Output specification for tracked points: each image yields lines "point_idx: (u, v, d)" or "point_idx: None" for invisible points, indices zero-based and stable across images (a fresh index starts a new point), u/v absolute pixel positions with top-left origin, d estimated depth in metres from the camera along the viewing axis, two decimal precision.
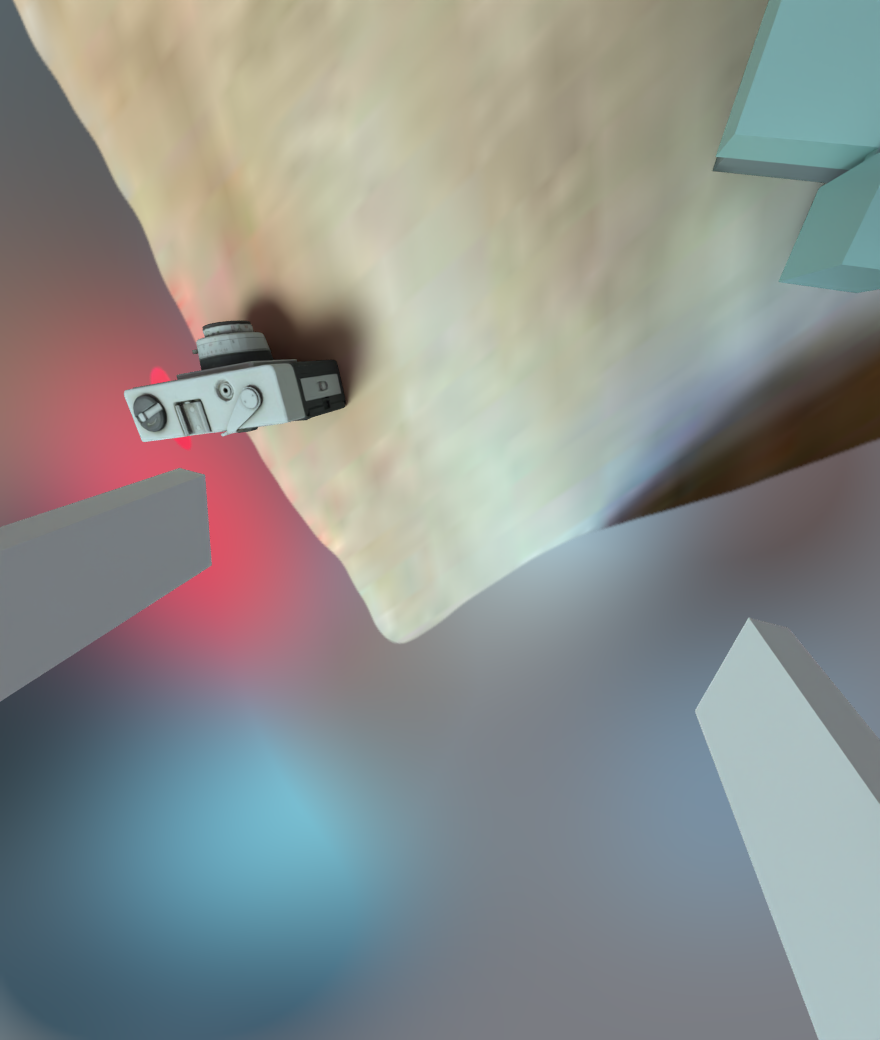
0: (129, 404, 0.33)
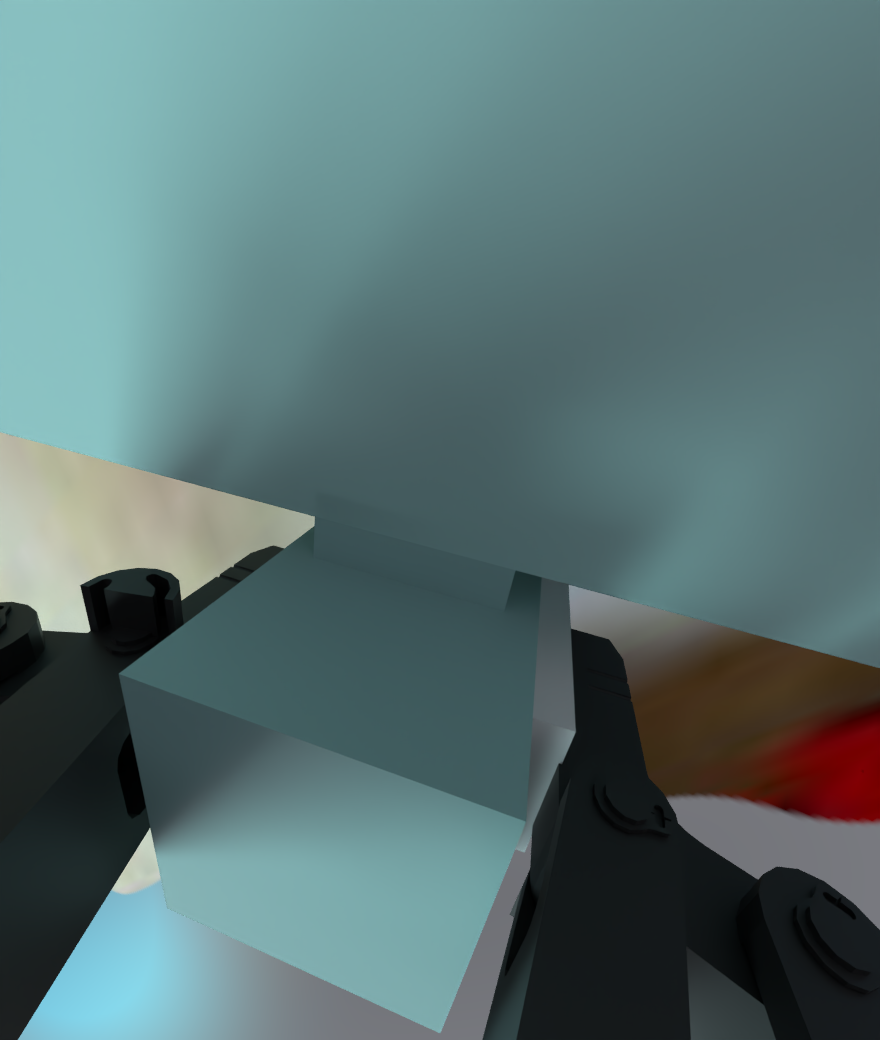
0: None
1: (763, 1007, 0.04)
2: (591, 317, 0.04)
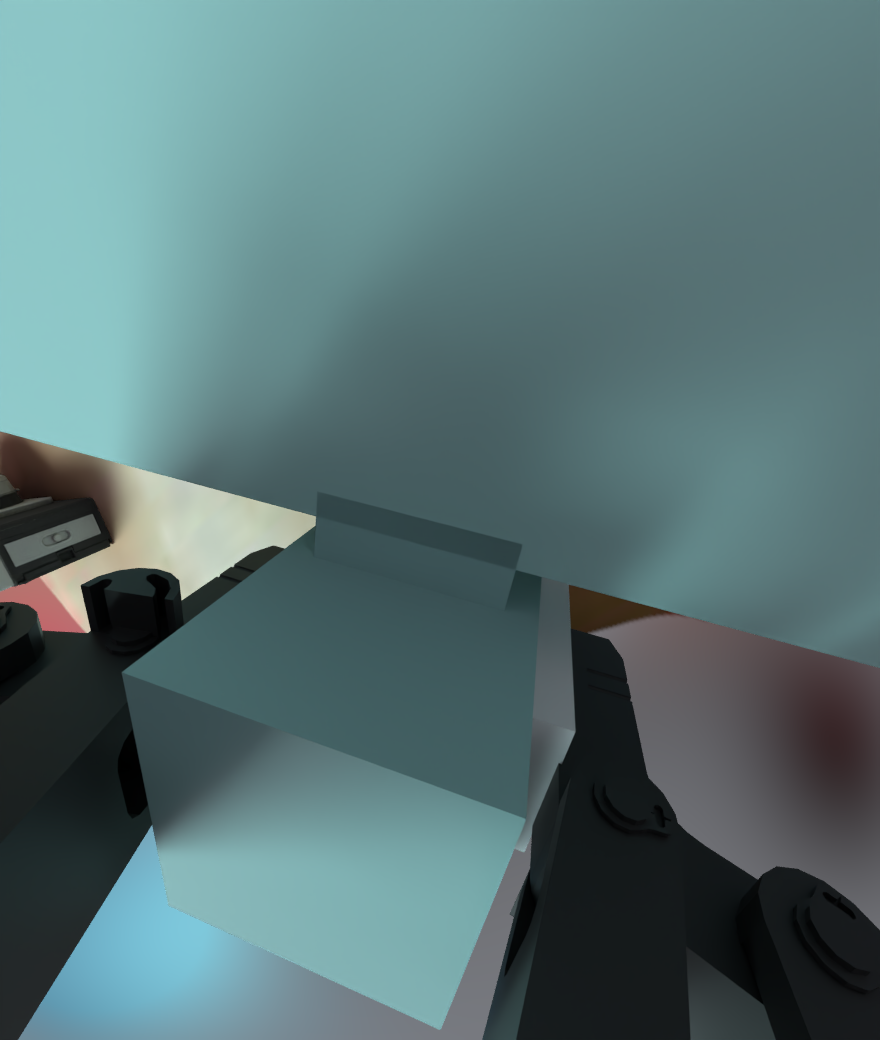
0: None
1: (762, 1007, 0.04)
2: (591, 318, 0.04)
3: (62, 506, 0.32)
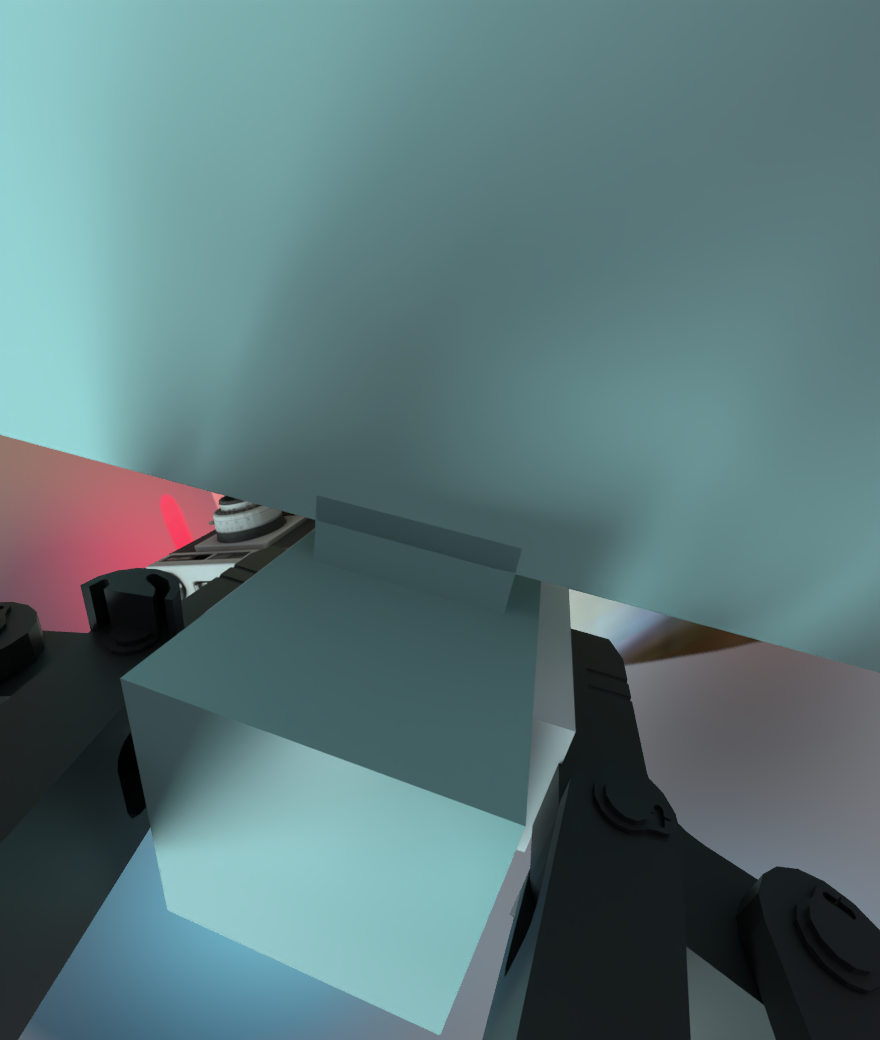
0: None
1: (762, 1007, 0.04)
2: (591, 323, 0.04)
3: None
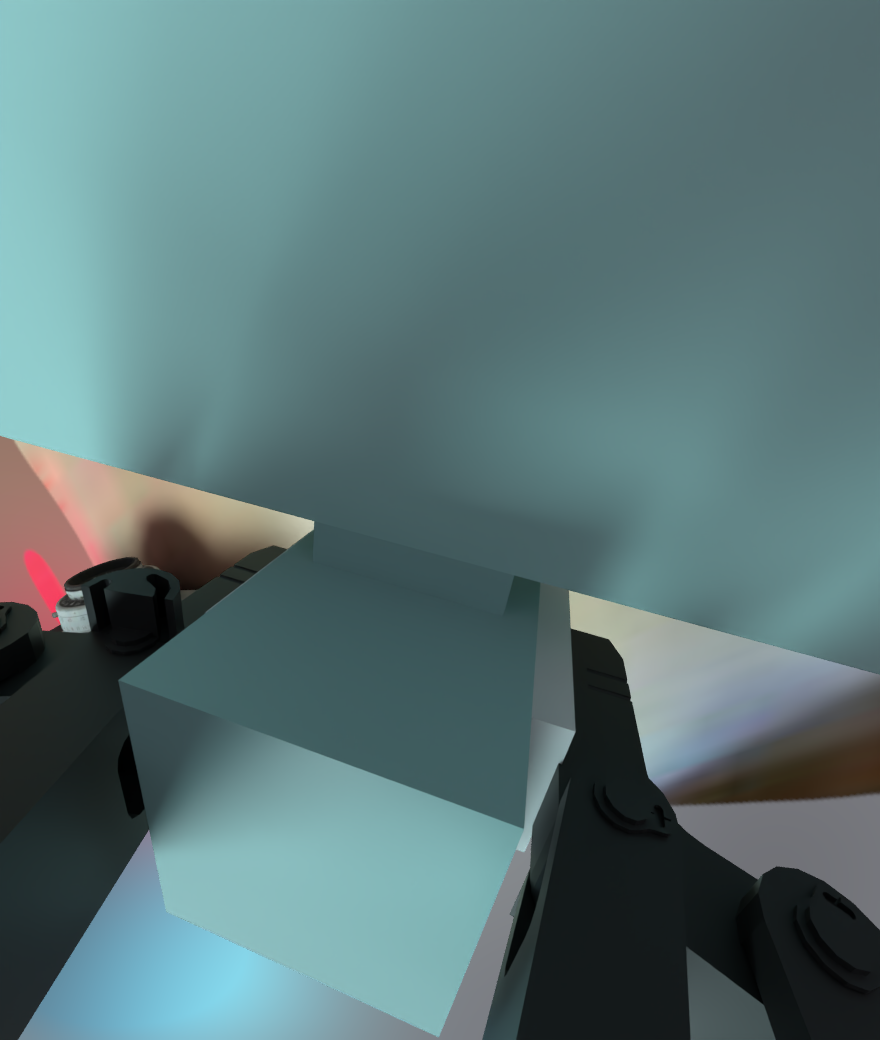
0: None
1: (762, 1008, 0.04)
2: (590, 325, 0.04)
3: None
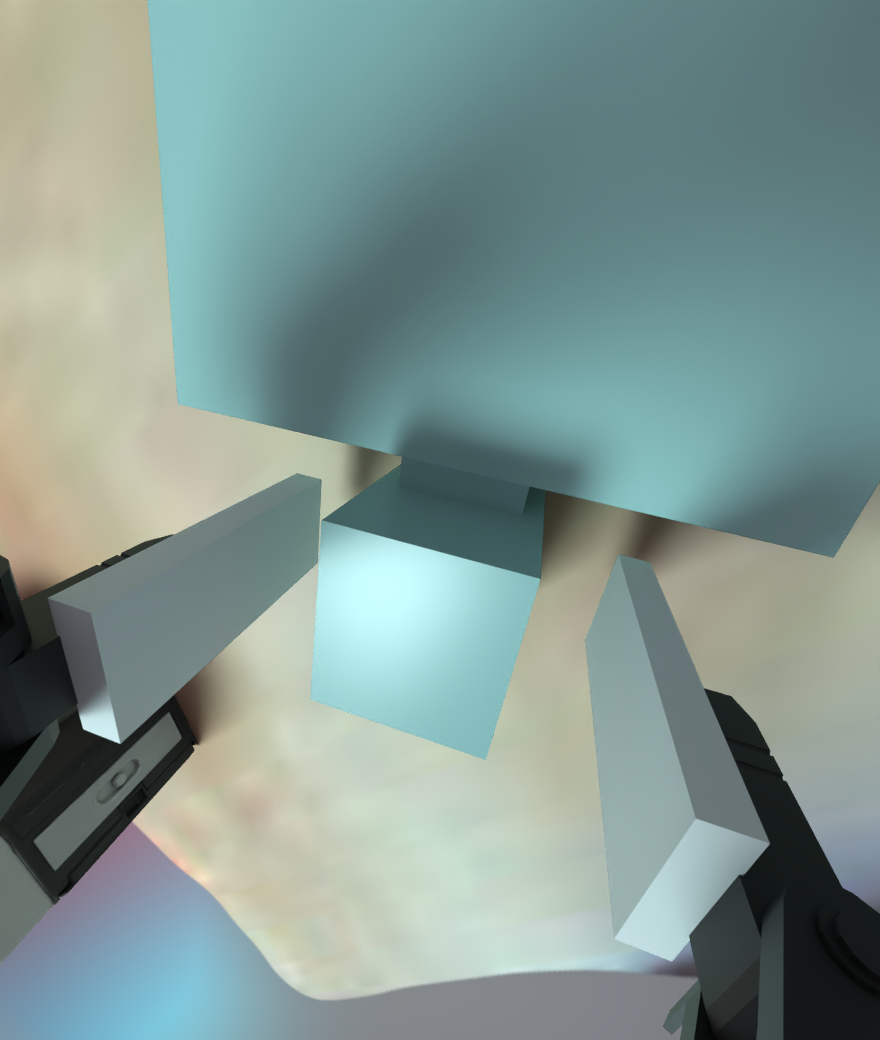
0: None
1: None
2: (573, 333, 0.08)
3: None
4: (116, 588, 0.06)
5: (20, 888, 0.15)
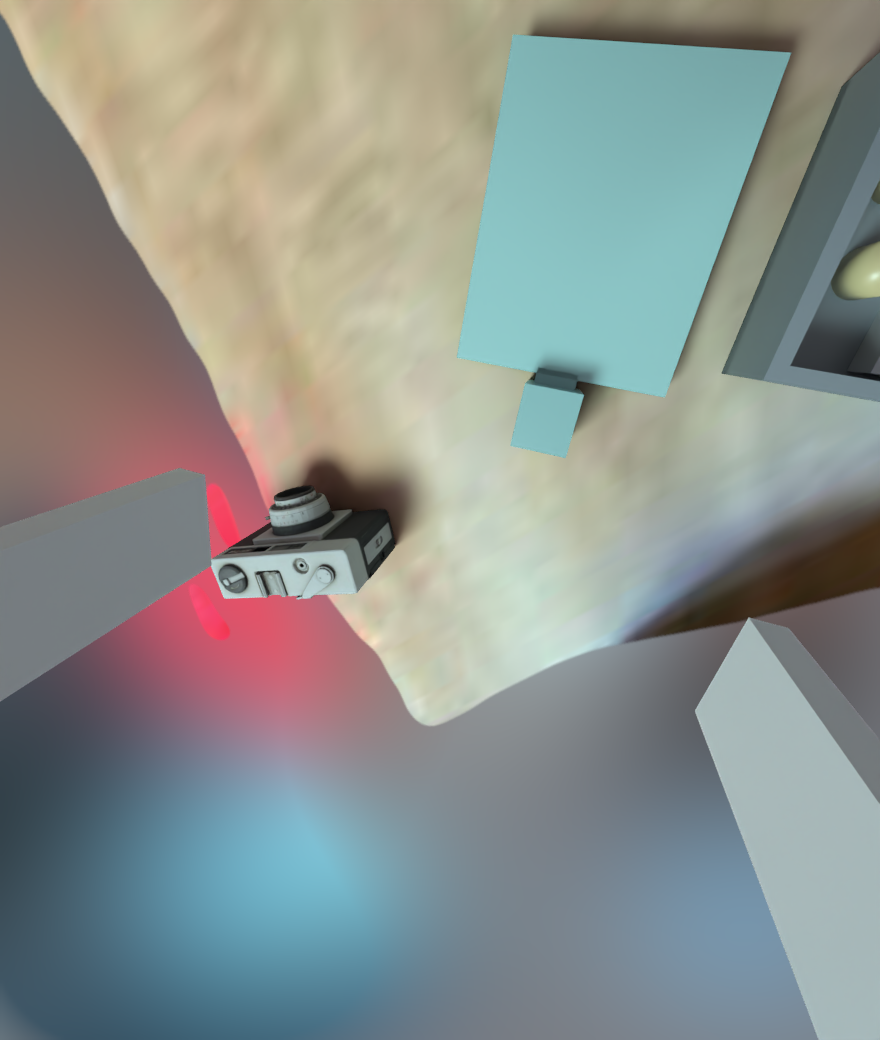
0: (214, 570, 0.38)
1: None
2: (591, 334, 0.30)
3: (376, 517, 0.41)
4: None
5: (362, 564, 0.36)
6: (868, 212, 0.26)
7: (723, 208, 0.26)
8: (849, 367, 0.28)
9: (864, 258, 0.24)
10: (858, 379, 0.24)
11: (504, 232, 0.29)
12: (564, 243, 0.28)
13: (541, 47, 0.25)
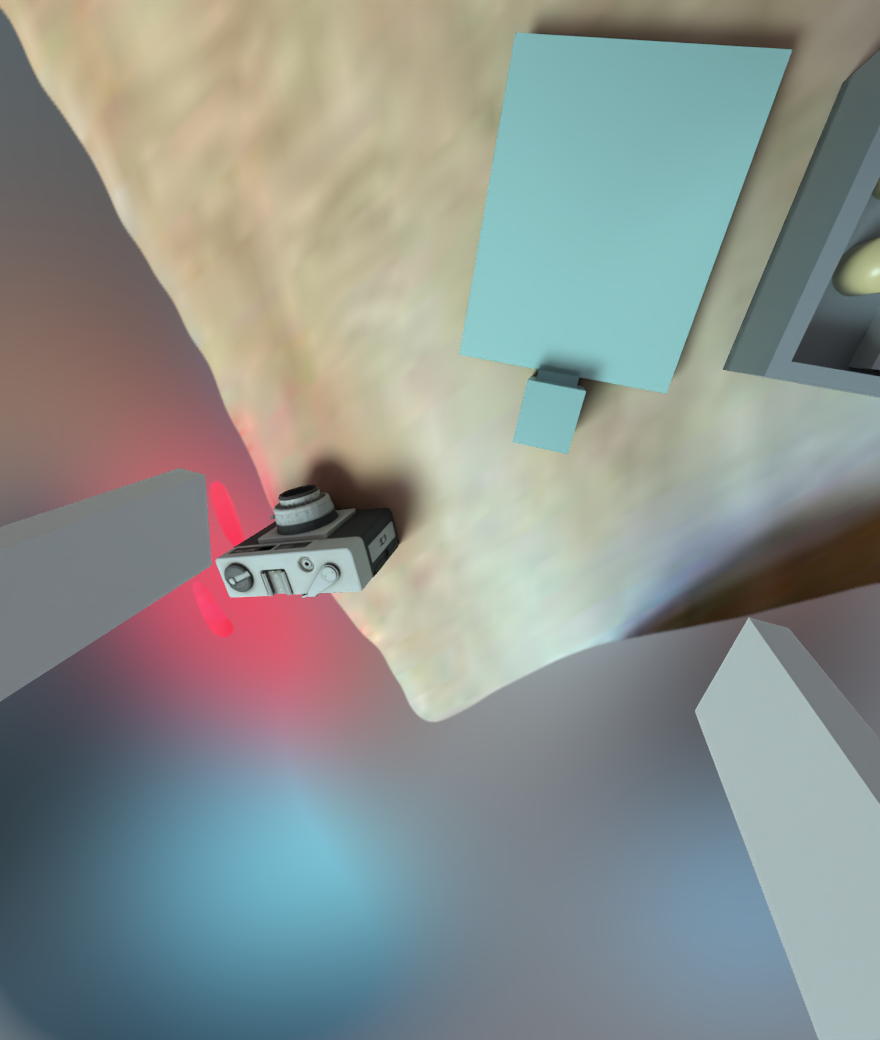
0: (220, 569, 0.39)
1: None
2: (593, 330, 0.30)
3: (379, 515, 0.41)
4: None
5: (366, 562, 0.37)
6: (869, 209, 0.26)
7: (724, 205, 0.26)
8: (850, 363, 0.29)
9: (865, 254, 0.24)
10: (859, 374, 0.24)
11: (507, 229, 0.29)
12: (567, 240, 0.28)
13: (543, 45, 0.25)
